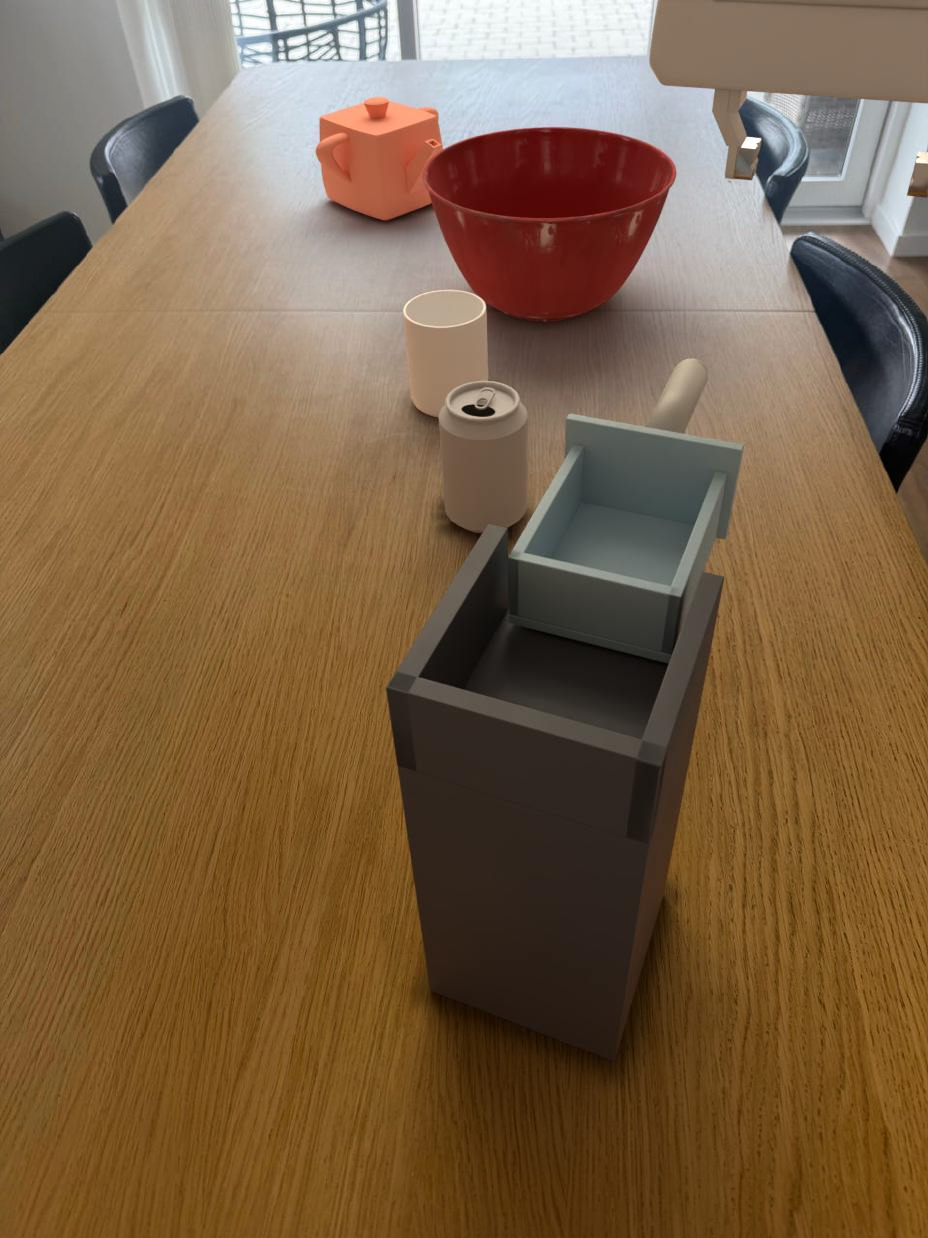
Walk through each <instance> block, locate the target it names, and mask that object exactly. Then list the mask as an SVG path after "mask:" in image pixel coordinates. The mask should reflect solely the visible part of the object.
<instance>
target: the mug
mask: <svg viewBox="0 0 928 1238" xmlns="http://www.w3.org/2000/svg"><path fill="white" fill-rule="evenodd" d="M402 317H403V318H402V319H403V327H404V328H403V329H404V338H405V349H406V361H407V370H408V371H407V373H408V381H409V382H408V383H409V393H410V398H411V402H412V404H413V405H414V407H416V409H417V410H419V411H420V412H422V413H423V414H425V415H428V416H430V417H434V418H439V413H440V411H441V409H442V408H443V407H444V406H445V405H446V404H445V399H446V397H447V395H448V394H449V393H450V392H451V391H452V390H453V389H455V388H457V387H459V386H461V385H463V384H466V383H470V382H476V381H489V357H488V354H489V353H488V320H487V319H488V318H487V317H488V316H487V303H486V302H485V301H483V300H482V299H481V298H480V297H479V296H478V295H477V294H476V293H472V292H469V291H465V290H460V289H437V290H432V291H427V292H424V293H421V294H418V295H416V296H414V297H412V298H411V299H409V300H407V302H406V303H405V304H404V307H403V309H402Z"/></svg>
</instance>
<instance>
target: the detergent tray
mask: <svg viewBox="0 0 928 1238" xmlns="http://www.w3.org/2000/svg"><path fill="white" fill-rule="evenodd" d="M708 379H709V372H708V368H707V366H706V365H705V363H703V362H702V361H701V360H700V359H698V358H691V357H690V358H686V359H683V360H681V361H680V362H679V363H677V365H675V366H674V369H673V371H672V373H671V375H670V377H669V379H668V381H667V383H666V385H665V387H664V389H663V391H662V393H661V395H660V397H659V399H658V400H657V402H656V405H655V407H654V409H653V410H652V413H651V415H650V417H649V419H648V421H647V423H646V425H645V426H643V425H637V424H631V423H626V422H619V421H614V420H609V419H604V418H597V417H592V416H587V415H582V414H576V413H571V412H570V413H568V415H567V416H566V418H565V426H564V427H565V429H564V454H563V455H564V456H563V457H564V459H563V462H562V464H561V465H560V467H559V469H558V470H557V472H556V474H555V475H554V478H553V479H552V481H551V482H550V484H549V486H548V487H547V490H546V491H545V493H544V495H543V496H542V498H541V500H540V501H539V503H538V505H537V506H536V508H535V510H534V512H533V514H532V515H531V517H530V519H529V520H528V522H527V524H526V525H525V527H524V529H523V531H522V532H521V534H520V536H519V537H518V539H517V541H516V543H515V544H514V547H513V548H512V549H511V552H510V553H509V554H508V591H509V623H510V624H514V625H518V626H522V627H526V628H530V629H534V630H538V631H542V632H546V633H550V634H554V635H558V636H562V637H566V638H570V639H574V640H577V641H581V642H585V643H589V644H593V645H597V646H601V647H605V648H609V649H613V650H617V651H621V652H625V653H629V654H633V655H637V656H641V657H645V658H648V659H652V660H656V661H660V662H664V663H668V664H669V662H670V659H671V656H672V653H673V650H674V648H675V645H676V642H677V639H678V636H679V634H680V631H681V628H682V625H683V622H684V620H685V617H686V614H687V611H688V608H689V606H690V603H691V600H692V597H693V595H694V592H695V589H696V586H697V583H698V581H699V578H700V575H701V573H702V572H705V570H706V568H707V565H708V562H709V560H710V559H709V558H710V556H711V554H712V550H713V548H714V546H715V542H716V539H720V540H726V539H727V537H728V534H729V530H730V529H729V528H730V525H731V524H730V523H731V517H732V514H733V508H734V502H735V497H736V491H737V486H738V481H739V475H740V470H741V466H742V465H741V464H742V459H743V454H744V449H745V444H743V443H737V442H732V441H726V440H720V439H717V438H716V439H715V438H709V437H704V436H699V435H694V434H693V435H692V434H687V433H685V431H686V430H687V427H688V425H689V423H690V420H691V419H692V417H693V414H694V412H695V409H696V407H697V406H698V405H697V404H698V403H699V400H700V397H701V396H702V393H703V391H704V390H705V387H706V384H707V382H708Z"/></svg>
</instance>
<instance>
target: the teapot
mask: <svg viewBox="0 0 928 1238" xmlns="http://www.w3.org/2000/svg"><path fill="white" fill-rule="evenodd" d="M439 118H440V116H439V112H438V110H437V109H436V108H435V107H431V106H422V107H418V108H416V107H413V106H410V105H406V104H403V103H399V102H396V101H391V100H390V99H389V98H387V97H384V96H372V97H369V98H366V99H365V100H364V101H363V102H362V103H359V104H355V105H352V106H349V107H345V108H343V109H339V110H336V111H333V112H330V113H327V114H323V115H321V116H320V117H319V118H318V119H319V121H318V122H319V123H318V127H319V129H318V132H319V143H317V145H316V147H315V155H316V158H317V160H318V162H319V164H320V170H321V176H322V178H321V179H322V184H323V188H324V191H325V194H326V197H327V198H328V199H329V200H331V201H333V202H335V203H337V204H339V205H341V206H343V207H345V208H347V209H350V210H352V211H354V212H357V213H360V214H362V215H366V216H369V217H372V218H375V219H378V220H381V221H388V220H391V219H395V218H398V217H400V216H402V215H405V214H408V213H410V212H413V211H416V210H418V209H421V208H424V207H426V206H428V205H431V204H432V202H431V198H430V195H429V192H428V190H427V188H426V187H425V185H424V182H423V170H424V168H425V166H426V164H427V163H428V161H429V160H430V159H431V158H432V157H433V156H434V155H436V154H437V153H438V152H440V151H442V150H443V149H444V147H443V139H442V134H441V130H440V129H441V128H440V123H439Z"/></svg>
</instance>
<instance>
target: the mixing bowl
mask: <svg viewBox="0 0 928 1238" xmlns="http://www.w3.org/2000/svg"><path fill="white" fill-rule="evenodd" d="M676 177H677V168H676V164H675V163H674V161H673V160H672V158H671V157H670V156H669V155H668V154H666V153H665V152H664V151H663V150H661V149H660V148H658V147H656V146H654V145H653V144H650V143H648V142H646V141H643V140H641V139H638V138H635V137H631V136H628V135H624V134H620V133H616V132H612V131H605V130H601V129H591V128H584V127H583V128H582V127H569V126H540V127H539V126H538V127H525V128H514V129H506V130H499V131H498V130H497V131H493V132H488V133H484V134H479V135H476V136H472V137H469V138H466V139H463V140H460V141H457V142H454V143H453V144H451V145H448V146H447V147H444V148H443V150H442V151H440V152H438V153H437V154H436V155H434V156H433V157H432V158H431V159H430V160H429V161H428V163H427V164H426V166H425V168H424V170H423V182H424V185H425V187H426V188H427V190H428V192H429V195H430V198H431V202H432V203H431V204H432V209H433V211H434V214H435V217H436V220H437V223H438V226H439V228H440V231H441V235H442V236H443V239H444V242H445V244H446V245H447V248H448V250H449V252H450V255H451V257H452V259H453V260H454V263H455V264H456V266H457V268H458V270H459V272H460V273H461V275H462V277H463V279H464V280H465V282H466V283H467V285H468V286H469V288H470V289H471V290H472V291H473V292H474V294H475V295H477V296H479V297H480V298H481V299H482V300H483V301H484V302H485V304H486V305H488V306H490V307H493V308H495V309H496V310H498V311H499V312H501V313H503V314H504V315H507V316H509V317H511V318H515V319H519V320H524V321H530V322H540V323H545V322H559V321H566V320H571V319H575V318H578V317H580V316H582V315H585V314H586V313H589V312H590V311H592V310H593V311H594V309H596V308H598V307H600V306H602V305H603V304H605V303H606V302H608V301H609V300H611V298H613V297H614V295H616V293H618V292H619V290H620V289H621V288H622V287H623V285H625V283H626V281H628V279H629V277H630V276H631V274H632V272H633V271H634V269H635V267H636V266H637V264H638V262H639V261H640V259H641V257H642V256H643V253H644V252H645V250H646V248H647V245H648V243H649V242H650V240H651V238H652V236H653V233H654V231H655V229H656V227H657V224H658V222H659V219H660V217H661V214H662V212H663V209H664V206H665V204H666V201H667V198H668V196H669V195H668V194H669V192H670V189H671V188H672V187H673V185H674V184H675V181H676Z"/></svg>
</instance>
